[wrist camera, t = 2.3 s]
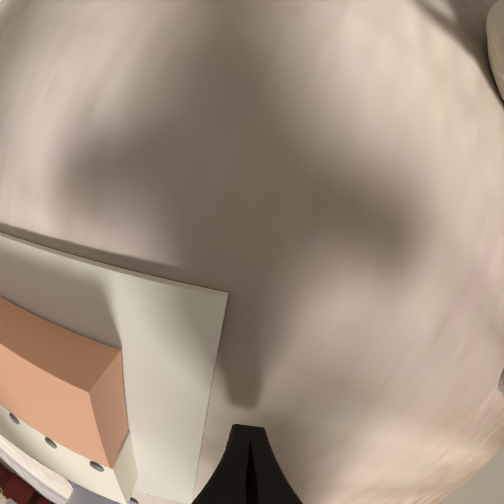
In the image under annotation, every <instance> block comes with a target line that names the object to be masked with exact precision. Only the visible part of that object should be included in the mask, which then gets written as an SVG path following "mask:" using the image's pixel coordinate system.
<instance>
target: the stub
mask: <svg viewBox="0 0 504 504" xmlns="http://www.w3.org/2000/svg"><path fill="white" fill-rule="evenodd" d="M0 404H1V405H2V406H4V407H5V408H6V409H8V410H9V411H10V412H12V413H13V414H14V415H16V416H17V417H18V418H20V419H21V420H23V421H24V422H26V423H27V424H29V425H30V426H32V427H33V428H35V429H36V430H38V431H39V432H41V433H42V434H44V435H46V436H47V437H49V438H51V439H52V440H54V441H56V442H58V443H59V444H61V445H63V446H65V447H67V448H69V449H71V450H73V451H74V452H76V453H78V454H80V455H83V456H85V457H87V458H89V459H91V460H93V461H95V462H98V463H100V464H102V465H105V466H107V467H109V468H110V467H111V465H112V463H113V461H114V458H115V456H116V454H117V452H118V450H119V448H120V446H121V443H122V441H123V439H124V437H125V435H126V433H127V431H128V422H127V414H126V406H125V397H124V387H123V375H122V358H121V350H119V349H116V348H113V347H111V346H108V345H105V344H102V343H99V342H97V341H94V340H91V339H89V338H86V337H84V336H81V335H79V334H76V333H74V332H71V331H69V330H67V329H64V328H62V327H60V326H58V325H55V324H53V323H51V322H49V321H47V320H44V319H42V318H40V317H38V316H36V315H34V314H32V313H30V312H28V311H26V310H24V309H22V308H20V307H18V306H17V305H15V304H13V303H11V302H9V301H7V300H6V299H4V298H2V297H0Z"/></svg>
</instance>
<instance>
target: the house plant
mask: <svg viewBox="0 0 504 504" xmlns="http://www.w3.org/2000/svg"><path fill="white" fill-rule="evenodd" d="M499 390H500V392H501V393H502V395H503V396H504V371H503V373H502V376H501V378H500V381H499Z"/></svg>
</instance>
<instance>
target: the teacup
mask: <svg viewBox="0 0 504 504" xmlns="http://www.w3.org/2000/svg"><path fill="white" fill-rule="evenodd" d="M486 31H487V40H488V41H487V49H488V57H489V62H490V66H491V69H492V73H493V76H494V79H495V81H496V84H497V87H498V89H499V92H500V94H501V97H502V99H503V101H504V0H498V1H497V2H495V3H494V4H493V6H492V7H491V8H490V10H489V12H488V15H487V20H486Z"/></svg>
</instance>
